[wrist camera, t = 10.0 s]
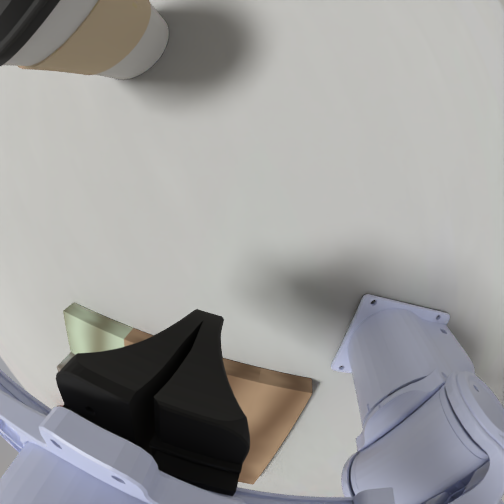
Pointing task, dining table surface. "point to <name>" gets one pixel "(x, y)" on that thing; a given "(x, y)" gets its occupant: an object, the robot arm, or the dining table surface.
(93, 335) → the board
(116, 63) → the coffee cup
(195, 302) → the dining table surface
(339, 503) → the robot arm
